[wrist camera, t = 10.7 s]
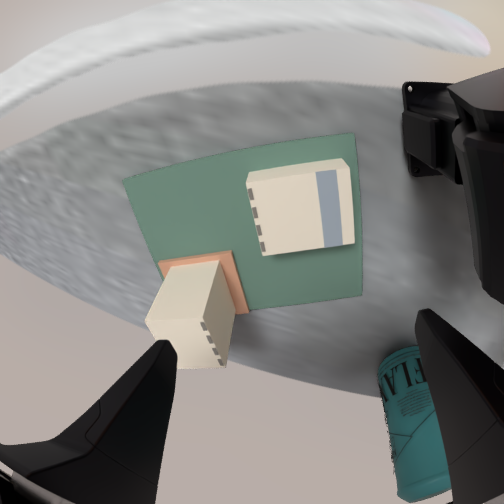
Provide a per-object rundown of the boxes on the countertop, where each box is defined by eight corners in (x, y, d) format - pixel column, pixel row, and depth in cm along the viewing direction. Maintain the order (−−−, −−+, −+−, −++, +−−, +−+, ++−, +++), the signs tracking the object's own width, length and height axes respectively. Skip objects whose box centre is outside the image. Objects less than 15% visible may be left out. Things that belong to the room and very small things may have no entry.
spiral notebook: (341, 158, 18) (349, 168, 16) (347, 227, 20) (355, 243, 18) (249, 172, 19) (245, 183, 17) (264, 239, 21) (262, 256, 19)
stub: (219, 260, 22) (202, 318, 17) (235, 309, 24) (225, 368, 19) (170, 266, 23) (144, 321, 17) (191, 313, 25) (173, 369, 20)
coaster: (231, 250, 22) (231, 253, 21) (249, 309, 25) (248, 313, 25) (159, 260, 23) (157, 263, 23) (184, 315, 26) (183, 318, 26)
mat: (352, 132, 17) (354, 133, 17) (361, 292, 24) (362, 295, 23) (124, 178, 20) (122, 180, 19) (180, 312, 26) (179, 315, 26)
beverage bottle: (417, 324, 25) (471, 516, 8) (433, 352, 28) (476, 511, 11) (362, 354, 28) (387, 543, 11) (385, 378, 30) (410, 535, 13)
